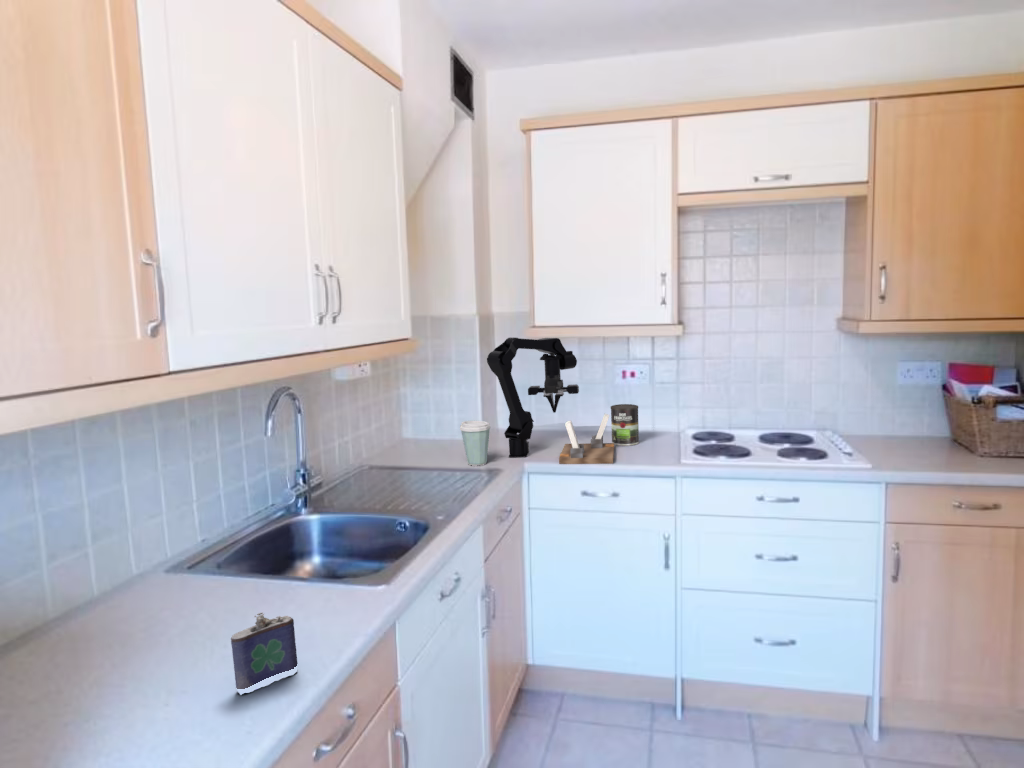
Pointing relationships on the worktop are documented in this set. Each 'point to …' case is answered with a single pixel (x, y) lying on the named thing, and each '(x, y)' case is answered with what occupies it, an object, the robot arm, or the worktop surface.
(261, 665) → the flask
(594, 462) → the switch board
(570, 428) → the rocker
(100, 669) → the worktop surface
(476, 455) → the disposable coffee cup
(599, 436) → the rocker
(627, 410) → the coffee can
